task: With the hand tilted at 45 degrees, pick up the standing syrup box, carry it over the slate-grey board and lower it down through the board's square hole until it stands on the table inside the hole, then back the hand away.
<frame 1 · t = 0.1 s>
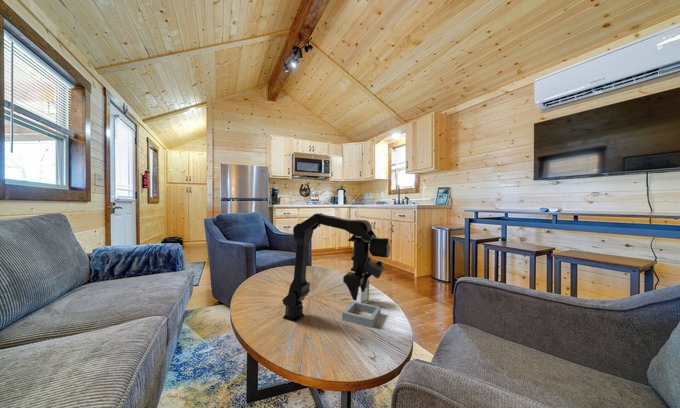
hand: (359, 295, 91), 15 cm above the table, tool pointing down, fingers open, 9 cm apart
syrup box: (360, 302, 121), on the table
socket board: (361, 316, 105), on the table
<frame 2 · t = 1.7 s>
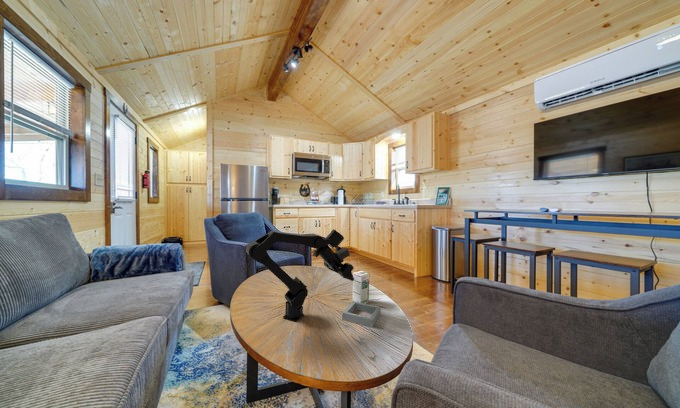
hand: (348, 277, 116), 13 cm above the table, tool tilted 45°, fingers open, 9 cm apart
nothing on the table moved.
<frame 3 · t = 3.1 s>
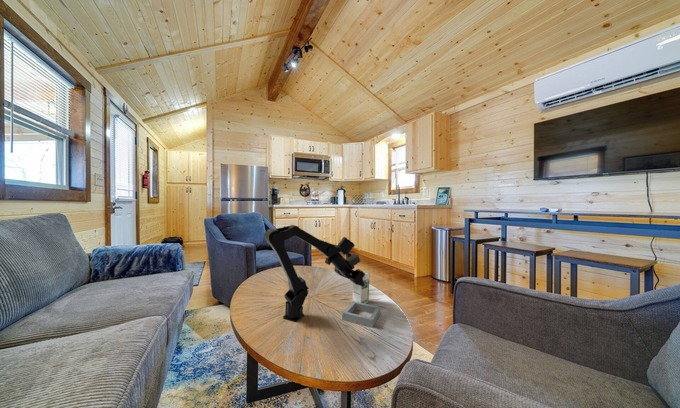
hand: (358, 282, 119), 10 cm above the table, tool tilted 45°, fingers open, 9 cm apart
nothing on the table moved.
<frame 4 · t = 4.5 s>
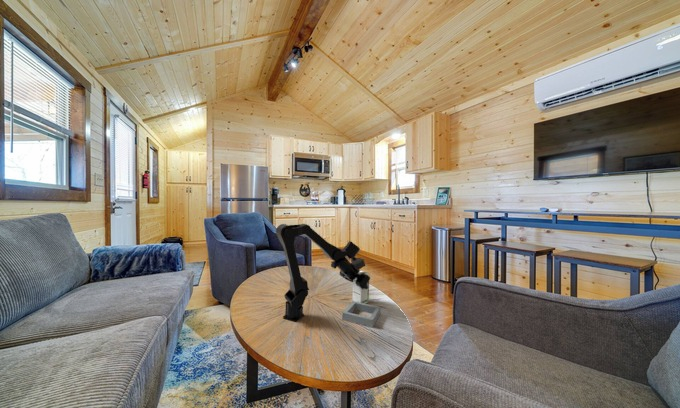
hand: (363, 286, 121), 8 cm above the table, tool tilted 45°, fingers closed on syrup box, 6 cm apart
syrup box: (360, 302, 121), on the table, touching gripper
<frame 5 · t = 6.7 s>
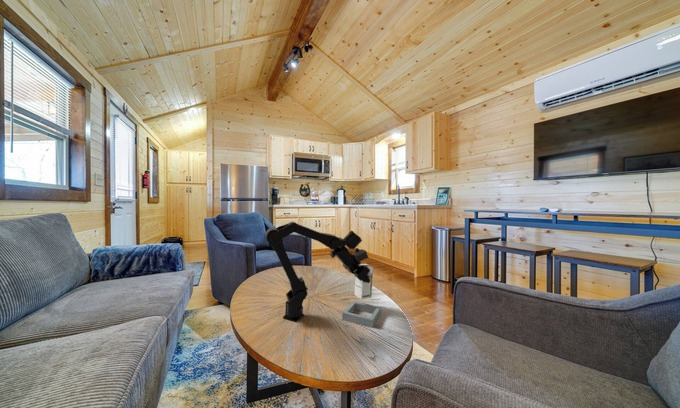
hand: (366, 279, 114), 13 cm above the table, tool tilted 45°, fingers closed on syrup box, 6 cm apart
syrup box: (362, 296, 113), point 5 cm above the table, touching gripper
when the fingers open (8 cm above the table, at t = 9.0 s): syrup box stays where it is, resting in socket board.
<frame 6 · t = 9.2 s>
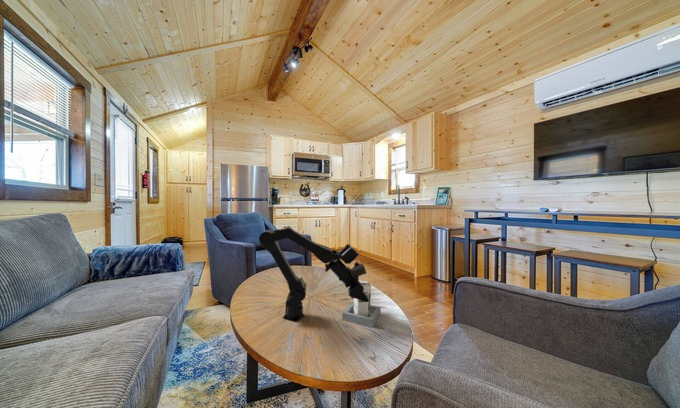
hand: (365, 297, 105), 9 cm above the table, tool tilted 45°, fingers open, 8 cm apart
syrup box: (361, 317, 105), resting in socket board
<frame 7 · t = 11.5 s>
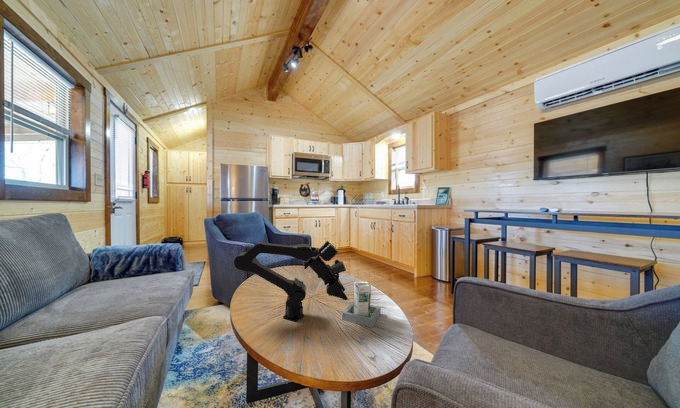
hand: (345, 294, 105), 9 cm above the table, tool tilted 45°, fingers open, 9 cm apart
nothing on the table moved.
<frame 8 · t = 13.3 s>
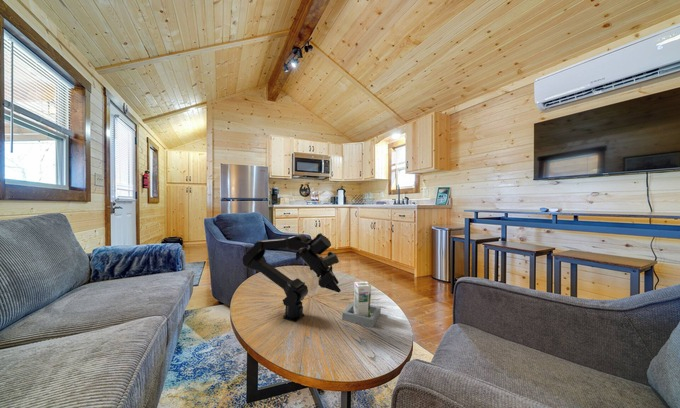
hand: (338, 287, 102), 14 cm above the table, tool tilted 45°, fingers open, 9 cm apart
nothing on the table moved.
at the end: syrup box 0.3 cm off-centre on the socket board, point 0.0 cm above the socket board's base; syrup box tilted 0°; the gripper is holding nothing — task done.
